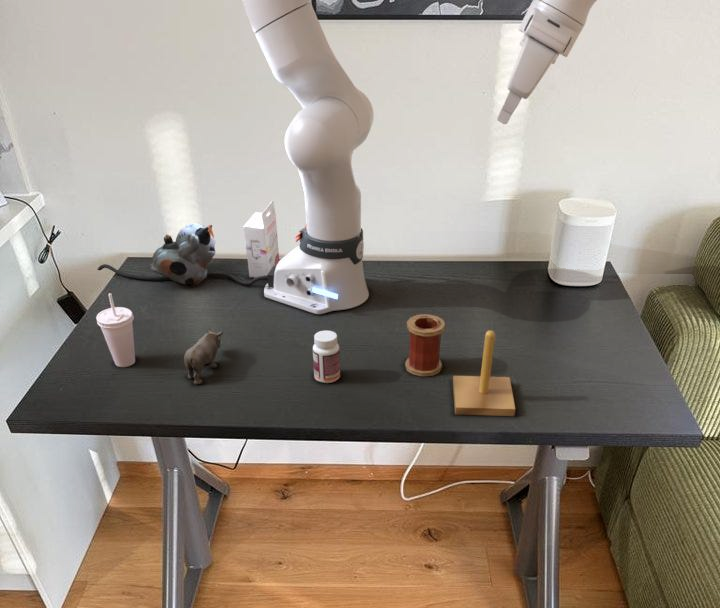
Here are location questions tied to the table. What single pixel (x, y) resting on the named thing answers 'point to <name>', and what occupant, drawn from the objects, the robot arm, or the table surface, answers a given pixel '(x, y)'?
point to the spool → (424, 345)
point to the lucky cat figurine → (185, 254)
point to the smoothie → (118, 333)
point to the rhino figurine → (202, 354)
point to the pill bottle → (326, 357)
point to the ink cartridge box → (261, 242)
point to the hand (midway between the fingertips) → (501, 120)
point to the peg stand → (484, 389)
